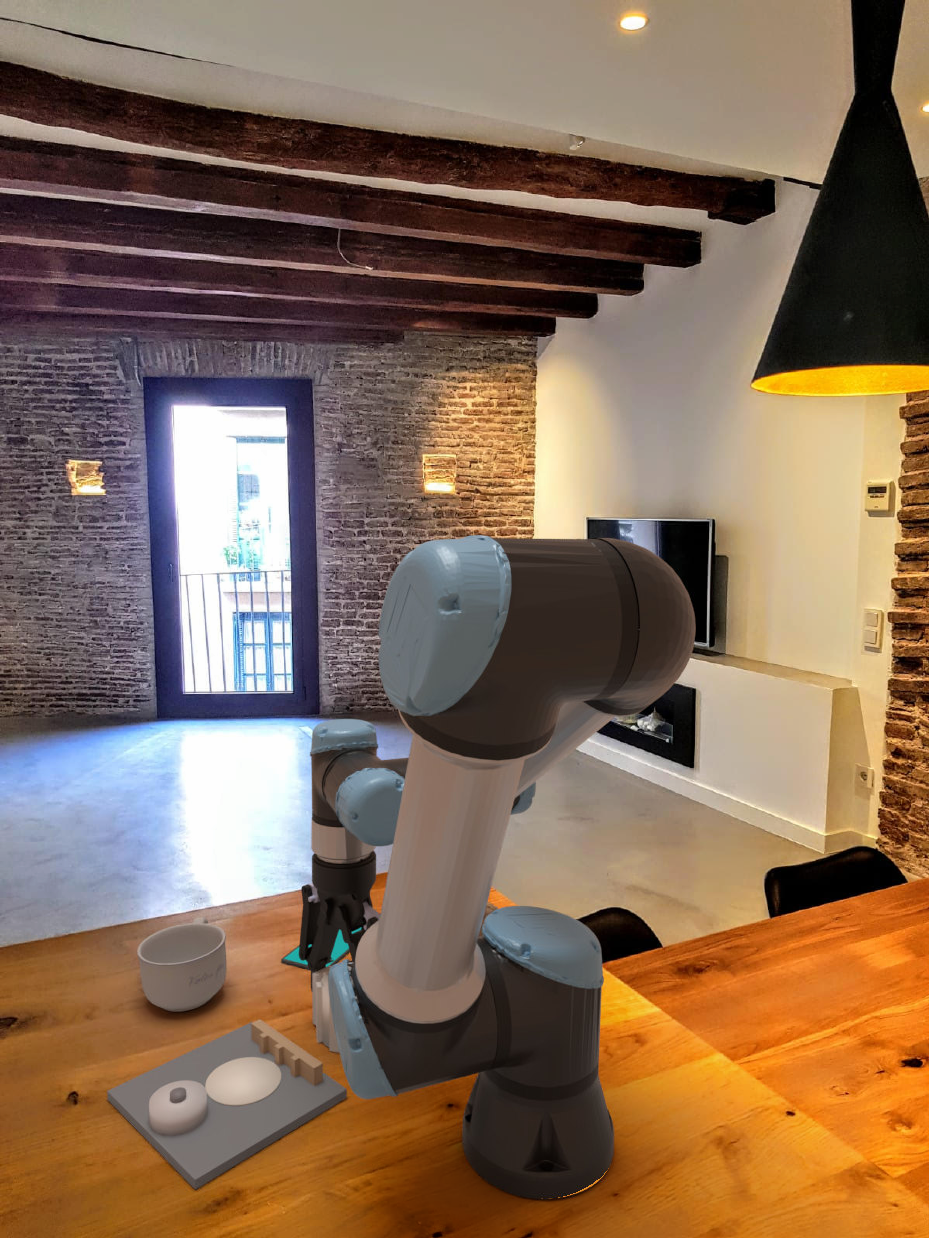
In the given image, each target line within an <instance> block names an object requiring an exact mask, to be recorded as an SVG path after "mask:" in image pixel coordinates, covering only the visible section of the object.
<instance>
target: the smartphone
mask: <svg viewBox="0 0 929 1238" xmlns="http://www.w3.org/2000/svg"><path fill="white" fill-rule="evenodd" d="M360 930H361V928H359V929H357V930H355V931H353V932H352V934H353V933H355V932H357V931H360ZM311 946H312V944H310V945H309V946H308V947H311ZM348 954H350V950H349V946H348V944H347V943H345V942H344V940H343V936H342V932H341V930H340V929H339V932H338V935H337V938H336V941H335V945H334V948H333V951H332V954H331V958H332V959H331V960H334V961H333V962H330V963H328V964H326V967H327V966H329V965H330V966H333V965H335V964H337V963H340V961H342V959H343V960H344V958H345V957H346V956H347V955H348ZM280 963H281V964H283V965H287V966H290V967H294V968H298V969H299V968H302V969H304V970H307V971H310V970H309V968H308V962H307V961H306V960H304V961H302V960H301V959H300V958H299V945H297V946H296V947H295V948H293V950H291V951H290V952H289V953H287V954H286V955H285V956H283V957H282V958H281V959H280Z"/></svg>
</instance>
